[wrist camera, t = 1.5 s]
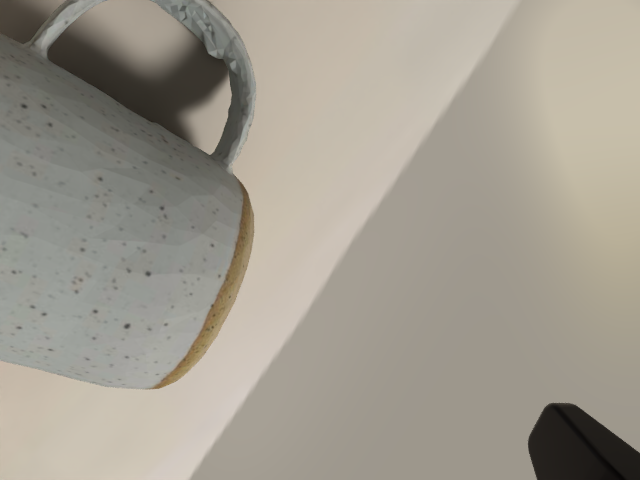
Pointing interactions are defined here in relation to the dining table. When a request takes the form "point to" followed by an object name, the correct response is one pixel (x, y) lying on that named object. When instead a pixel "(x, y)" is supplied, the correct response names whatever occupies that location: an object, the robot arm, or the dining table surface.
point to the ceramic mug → (116, 217)
